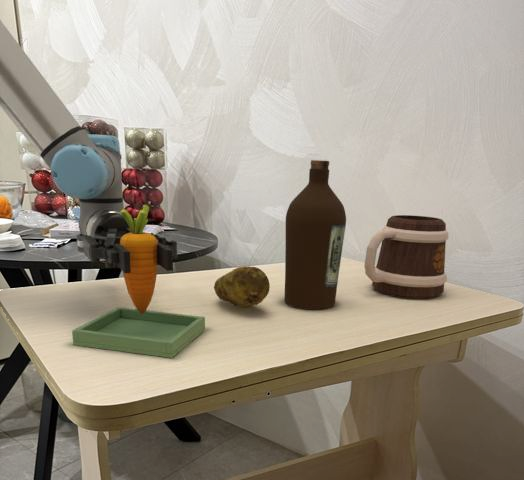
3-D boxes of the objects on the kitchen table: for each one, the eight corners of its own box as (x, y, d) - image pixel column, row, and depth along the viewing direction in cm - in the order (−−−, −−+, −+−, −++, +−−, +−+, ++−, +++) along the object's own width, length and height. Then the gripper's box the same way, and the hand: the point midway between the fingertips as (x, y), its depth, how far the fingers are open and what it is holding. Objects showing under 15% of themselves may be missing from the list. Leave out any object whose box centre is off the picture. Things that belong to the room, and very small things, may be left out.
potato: (255, 298, 99) (257, 256, 96) (273, 318, 87) (275, 270, 84) (212, 299, 97) (212, 256, 94) (224, 319, 85) (224, 271, 82)
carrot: (124, 319, 71) (117, 206, 66) (124, 309, 76) (118, 203, 71) (160, 318, 73) (157, 207, 67) (158, 308, 77) (155, 203, 72)
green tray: (73, 344, 71) (71, 330, 71) (118, 319, 83) (117, 306, 82) (172, 358, 68) (171, 343, 67) (205, 329, 80) (205, 316, 79)
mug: (405, 280, 119) (414, 212, 114) (459, 295, 107) (473, 221, 102) (337, 288, 109) (344, 214, 104) (389, 306, 97) (400, 224, 92)
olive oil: (272, 305, 94) (279, 158, 85) (292, 293, 103) (300, 159, 95) (329, 314, 90) (343, 161, 82) (344, 300, 100) (357, 162, 91)
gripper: (166, 255, 91) (214, 285, 72) (58, 260, 84) (78, 295, 64) (165, 211, 89) (214, 230, 69) (53, 212, 81) (73, 233, 62)
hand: (148, 261), depth 67 cm, fingers closed on carrot, 5 cm apart
